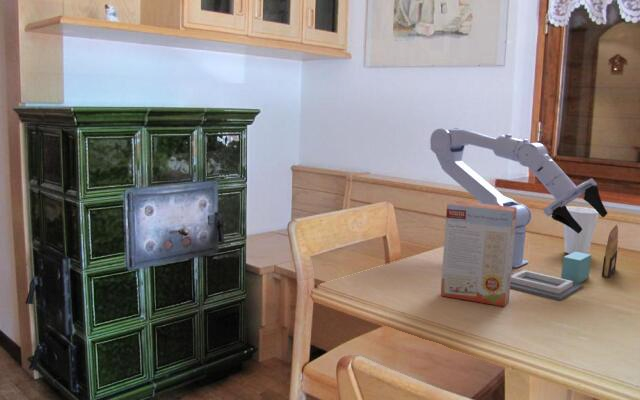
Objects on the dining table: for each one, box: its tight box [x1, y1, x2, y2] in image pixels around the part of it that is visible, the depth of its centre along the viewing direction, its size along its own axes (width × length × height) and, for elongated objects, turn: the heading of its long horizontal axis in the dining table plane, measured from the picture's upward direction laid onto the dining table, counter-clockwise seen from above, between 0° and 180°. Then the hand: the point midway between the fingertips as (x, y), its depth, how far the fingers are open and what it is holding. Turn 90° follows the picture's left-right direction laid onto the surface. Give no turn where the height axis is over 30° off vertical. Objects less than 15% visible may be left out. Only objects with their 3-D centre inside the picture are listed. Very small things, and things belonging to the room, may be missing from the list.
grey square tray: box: [510, 269, 584, 302], centre depth 147 cm, size 15×14×2 cm
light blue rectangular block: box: [560, 252, 592, 284], centre depth 153 cm, size 4×8×6 cm, turn 138°
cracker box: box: [440, 200, 517, 307], centre depth 134 cm, size 14×6×21 cm, turn 64°
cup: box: [563, 205, 600, 255], centre depth 178 cm, size 10×10×13 cm
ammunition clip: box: [601, 224, 619, 279], centre depth 160 cm, size 11×2×12 cm, turn 148°
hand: (592, 223), depth 150 cm, fingers open, 7 cm apart
